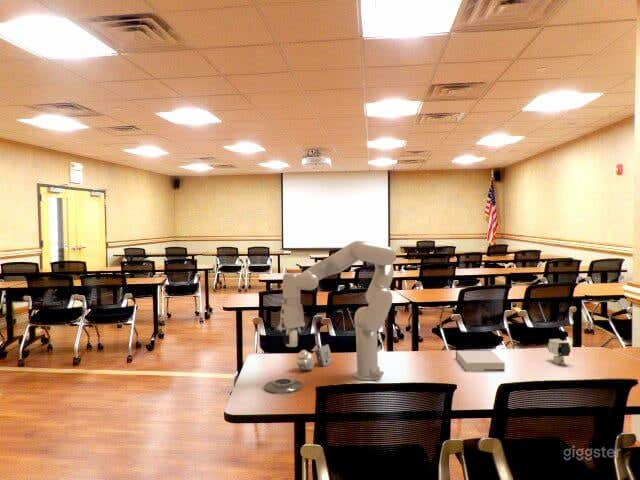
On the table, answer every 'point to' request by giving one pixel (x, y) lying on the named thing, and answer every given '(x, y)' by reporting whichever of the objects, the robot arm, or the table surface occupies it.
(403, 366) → the table surface
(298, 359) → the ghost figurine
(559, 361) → the security camera
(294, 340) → the white rounded cylinder
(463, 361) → the disc drive
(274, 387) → the socket
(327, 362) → the electrical switch
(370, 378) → the robot arm
